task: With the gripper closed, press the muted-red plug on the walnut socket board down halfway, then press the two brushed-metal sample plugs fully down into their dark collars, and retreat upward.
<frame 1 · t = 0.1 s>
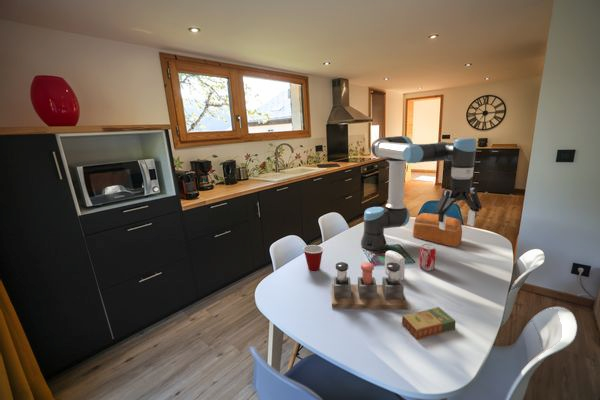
hand: (456, 227, 111), 28 cm above the table, fingers open, 13 cm apart
grey plug 2: (393, 275, 109), point 11 cm above the table, slide at 0.0 cm
bread: (436, 239, 167), on the table
red plug: (367, 275, 110), point 11 cm above the table, slide at 0.0 cm
plastic cup: (314, 269, 139), on the table
soda can: (426, 268, 134), on the table
grey plug 1: (342, 275, 112), point 11 cm above the table, slide at 0.0 cm
photo printer: (394, 276, 129), on the table
socket board: (366, 297, 113), on the table
carton: (427, 327, 95), on the table
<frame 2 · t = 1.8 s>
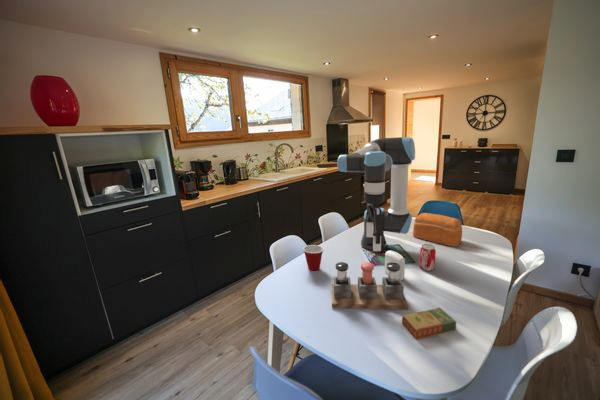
hand: (373, 243, 107), 25 cm above the table, fingers open, 13 cm apart
nothing on the table moved.
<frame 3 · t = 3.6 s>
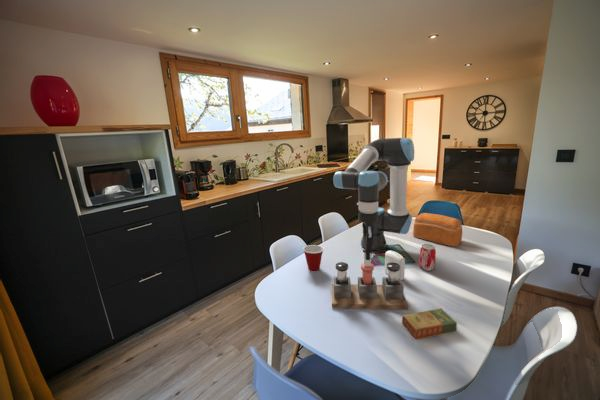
hand: (367, 265, 109), 16 cm above the table, fingers closed
red plug: (367, 275, 110), point 11 cm above the table, slide at 0.2 cm, touching gripper
everything else where it was.
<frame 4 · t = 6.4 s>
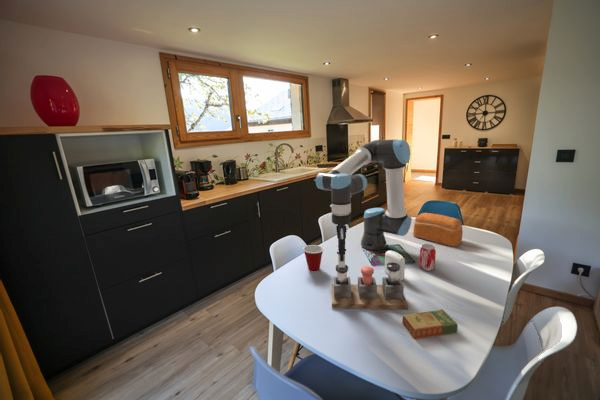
hand: (341, 266, 110), 15 cm above the table, fingers closed
red plug: (367, 279, 111), point 9 cm above the table, slide at 1.8 cm
grey plug 1: (342, 276, 112), point 10 cm above the table, slide at 0.9 cm, touching gripper
everything else where it was.
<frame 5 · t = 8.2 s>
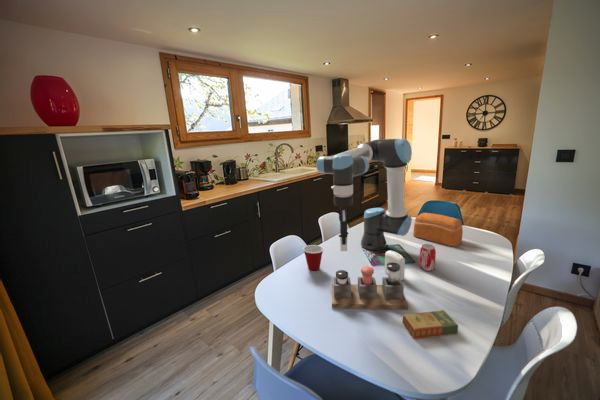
hand: (343, 250, 109), 22 cm above the table, fingers closed
grey plug 1: (342, 282, 113), point 7 cm above the table, slide at 3.8 cm
everything else where it was.
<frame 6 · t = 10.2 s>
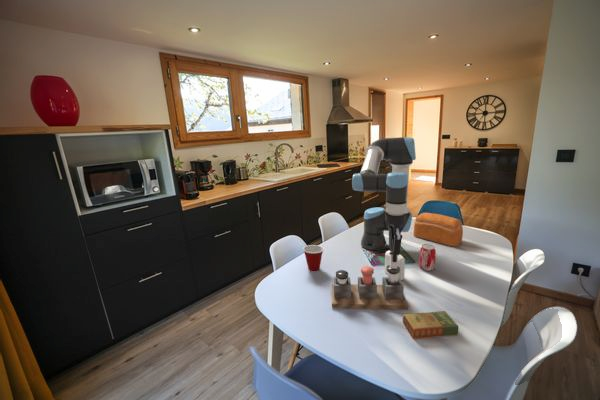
hand: (393, 267, 108), 15 cm above the table, fingers closed
grey plug 2: (392, 277, 109), point 10 cm above the table, slide at 1.1 cm, touching gripper
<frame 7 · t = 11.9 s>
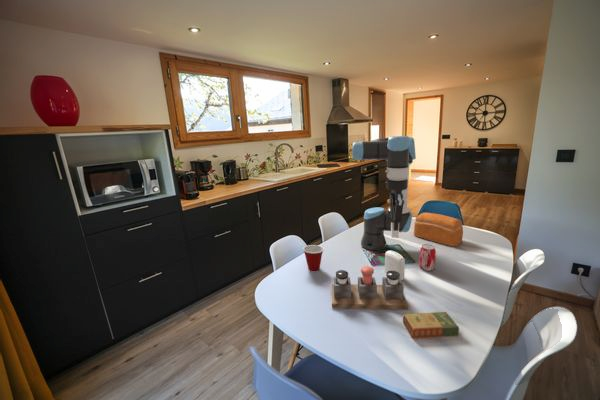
hand: (394, 236, 105), 28 cm above the table, fingers closed
grey plug 2: (392, 283, 110), point 7 cm above the table, slide at 3.8 cm
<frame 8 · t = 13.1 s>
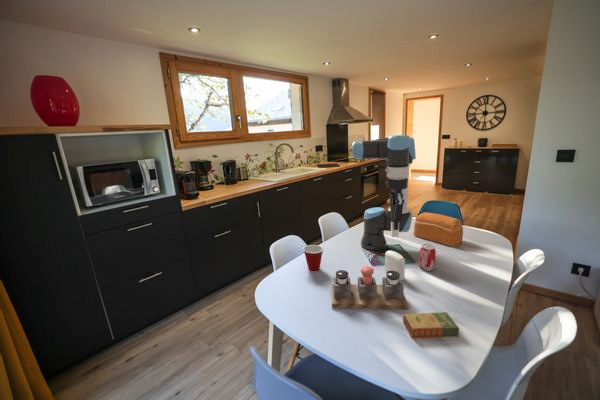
hand: (394, 236, 105), 28 cm above the table, fingers closed
at the end: red plug slide at 1.8 cm; grey plug 1 slide at 3.8 cm; grey plug 2 slide at 3.8 cm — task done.
